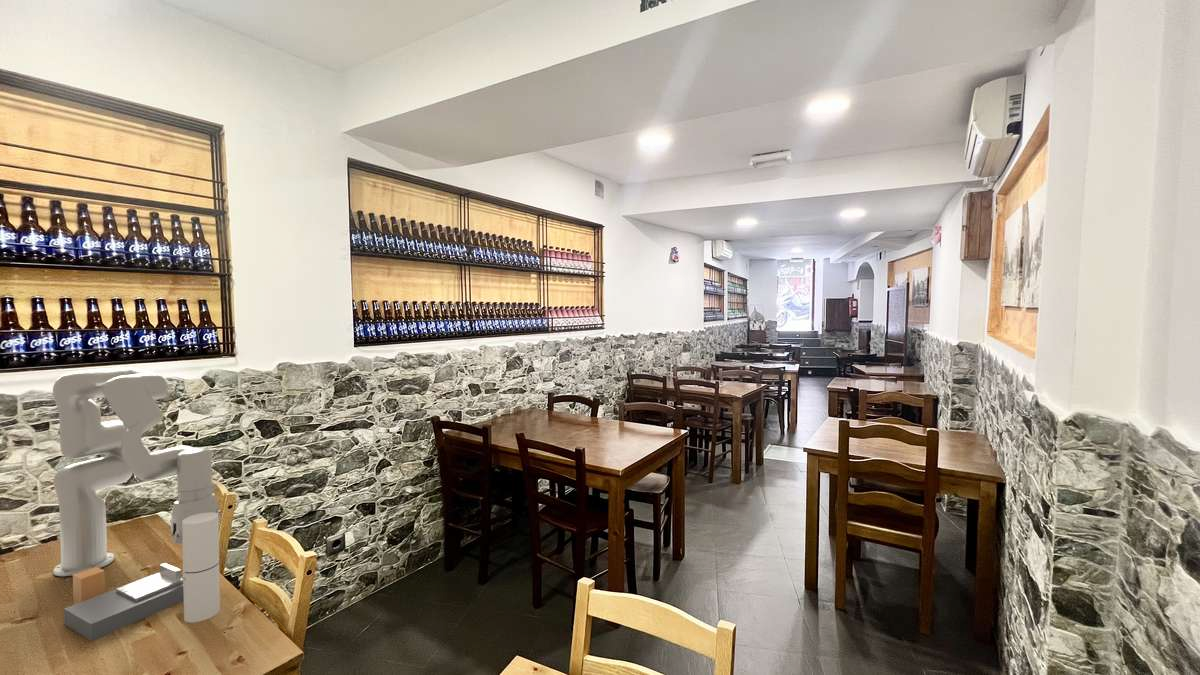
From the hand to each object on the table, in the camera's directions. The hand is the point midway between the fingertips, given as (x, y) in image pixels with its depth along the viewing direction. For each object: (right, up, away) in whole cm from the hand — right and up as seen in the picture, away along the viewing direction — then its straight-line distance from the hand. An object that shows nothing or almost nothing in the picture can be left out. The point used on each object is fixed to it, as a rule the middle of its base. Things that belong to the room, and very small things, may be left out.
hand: (197, 556), depth 139 cm
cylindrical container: (+13, -9, -14) cm, 21 cm away
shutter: (-5, -4, -9) cm, 11 cm away
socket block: (-7, -8, -13) cm, 16 cm away
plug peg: (-21, -8, -10) cm, 24 cm away
